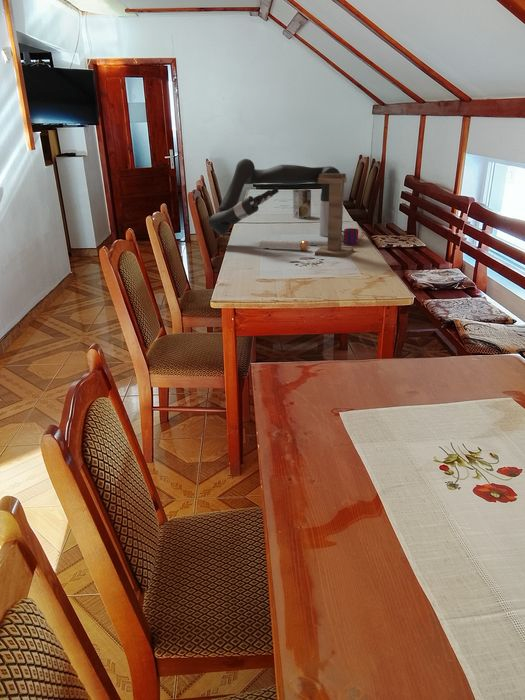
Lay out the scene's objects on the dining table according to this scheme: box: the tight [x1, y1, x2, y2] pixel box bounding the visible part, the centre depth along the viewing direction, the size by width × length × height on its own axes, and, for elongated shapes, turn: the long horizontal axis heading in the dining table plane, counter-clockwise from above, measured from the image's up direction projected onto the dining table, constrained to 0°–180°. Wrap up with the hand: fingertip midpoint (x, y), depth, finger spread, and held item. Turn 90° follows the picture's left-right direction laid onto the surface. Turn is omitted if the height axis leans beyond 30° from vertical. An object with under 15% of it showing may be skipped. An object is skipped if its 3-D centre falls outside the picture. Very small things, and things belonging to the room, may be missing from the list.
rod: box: [259, 240, 309, 252], centre depth 246 cm, size 4×22×4 cm, turn 68°
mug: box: [342, 227, 359, 246], centre depth 254 cm, size 7×10×7 cm
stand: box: [314, 173, 354, 258], centre depth 232 cm, size 14×14×34 cm
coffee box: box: [292, 188, 312, 219], centre depth 324 cm, size 9×6×16 cm
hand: (274, 190), depth 238 cm, fingers open, 8 cm apart
